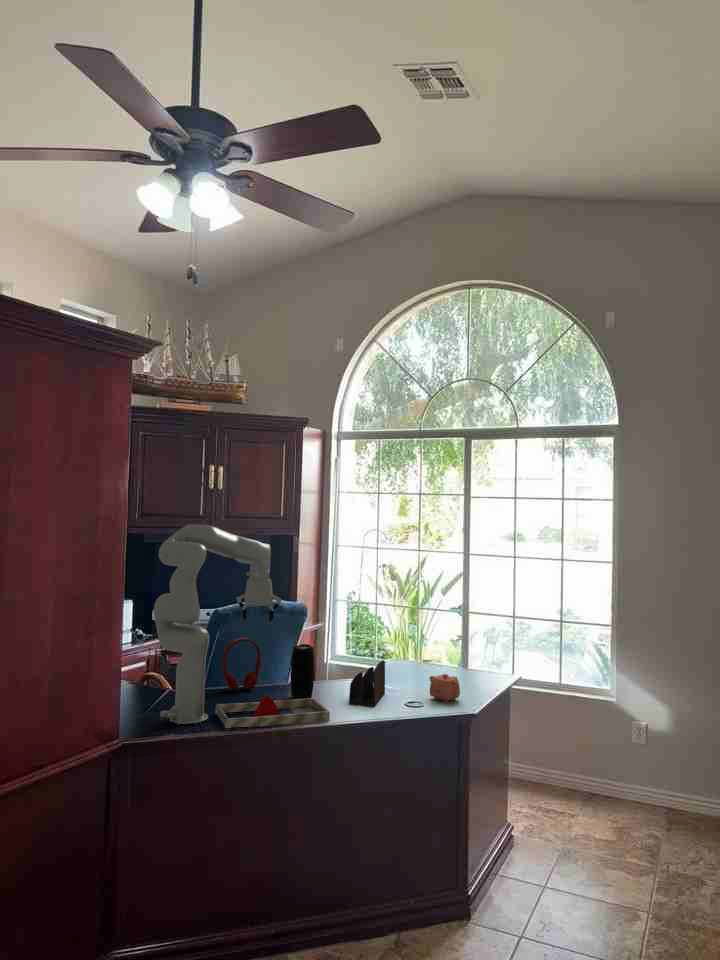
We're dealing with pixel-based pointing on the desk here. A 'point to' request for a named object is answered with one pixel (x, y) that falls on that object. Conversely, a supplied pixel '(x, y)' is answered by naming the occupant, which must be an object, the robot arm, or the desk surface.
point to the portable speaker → (302, 671)
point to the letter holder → (368, 686)
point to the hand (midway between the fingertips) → (258, 620)
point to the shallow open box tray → (299, 707)
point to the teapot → (444, 687)
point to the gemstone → (266, 707)
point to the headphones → (251, 676)
